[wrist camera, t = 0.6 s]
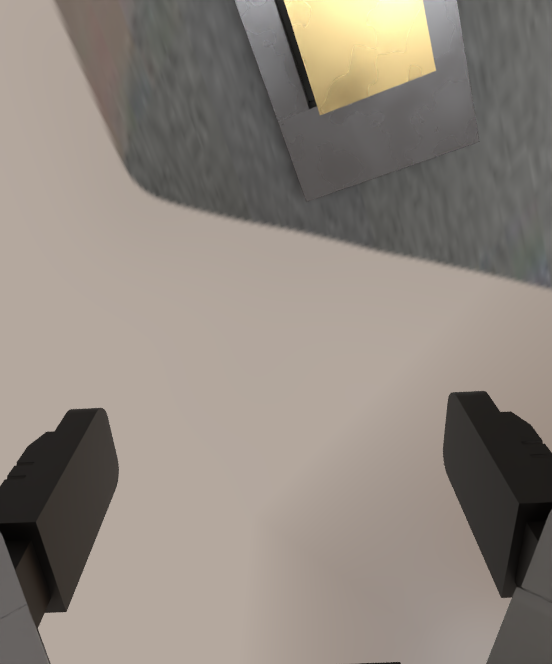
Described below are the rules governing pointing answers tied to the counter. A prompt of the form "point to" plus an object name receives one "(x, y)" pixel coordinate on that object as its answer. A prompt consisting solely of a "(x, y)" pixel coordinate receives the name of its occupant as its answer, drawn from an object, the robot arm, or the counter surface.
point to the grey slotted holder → (365, 106)
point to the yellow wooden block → (360, 46)
